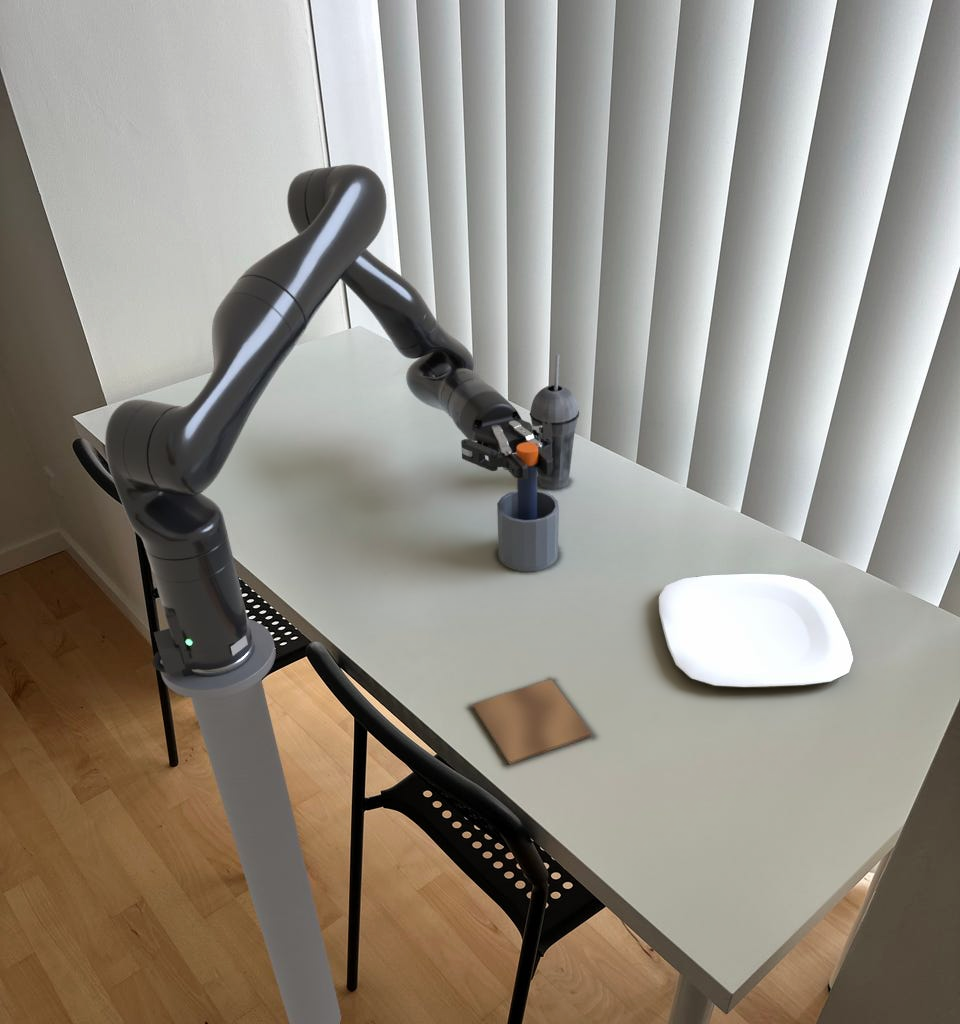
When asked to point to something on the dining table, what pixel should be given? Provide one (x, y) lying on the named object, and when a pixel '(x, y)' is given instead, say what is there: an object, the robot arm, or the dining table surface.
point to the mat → (531, 721)
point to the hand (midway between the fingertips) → (537, 470)
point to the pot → (528, 533)
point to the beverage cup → (556, 428)
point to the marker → (528, 482)
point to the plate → (753, 631)
